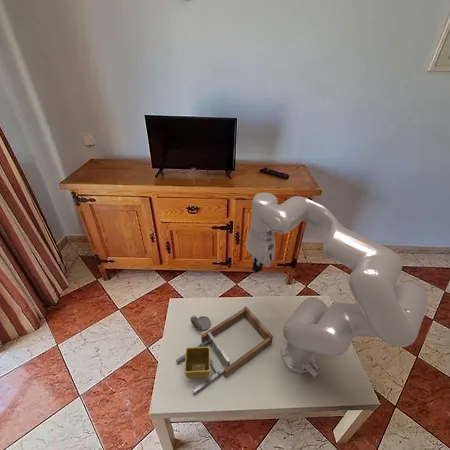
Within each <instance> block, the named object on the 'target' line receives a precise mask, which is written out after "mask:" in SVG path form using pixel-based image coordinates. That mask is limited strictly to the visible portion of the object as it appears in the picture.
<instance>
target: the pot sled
mask: <svg viewBox="0 0 450 450" xmlns="http://www.w3.org/2000/svg"><path fill="white" fill-rule="evenodd" d="M207 338H208V340H206V341H205V342H203V343H202V342H201V343H200V344H198V345H197V346H196V347H208V346H209V347H210V349H211V350H212V351H213V352H214V353H215V354H214V355H215V356H216V357H217V358H218V360H219V361H220V363H221V365H222V366H223V368H221V369H218V368H217V366H216V364H215V363H214V361H213V360H212V358H211V357H210V368H212V371H213V372H214V373H215V374H213V375H212V376H210V377H208V378H207V380H205V381H203V382H202V383H201V384H200V385H197V386H196V387H195V388H194V389H192V394H193V396H195V395H197V394H198V393H200V392H201V391H202V390H204V389H205V388H207V387H208V386H209V385H210V384H212V383H214V382H215V381H216V380H217V379H219V378H220V377H221V376H224V369H225V368H226V367H228V366H229V365H231V360H230V359H229V357H228V356H227V354H226V353H225V351H224V350H223V348H222V347H221V345H220V343H218V341H217V340H216V338H215V337H213V336H212V334H211V333H210V332H208V333H207ZM185 355H186V353H184V354H183V355H182V356H180V357H178V358H177V359H176V360H175V361H176V365H180V364H181V363H183V362H185Z"/></svg>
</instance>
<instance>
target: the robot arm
mask: <svg viewBox="0 0 450 450" xmlns="http://www.w3.org/2000/svg"><path fill="white" fill-rule="evenodd" d="M251 202H252V204H251V215H250V226H249V230H248V233H247V237H246V244H245V245H246V246H245V247H246V250H247V253H249V254H250V255H251V261H252V271H253V272H254V273H255V274H257V273H258V272H259V273H260V272H261V271H262V270H263V267H266V268H269V267H271V265H272V264H271V261H274V260H275V257H276V237H275V236H276V235H274V232H276V234H279V235H287V234H289V232H291V231H292V230H293V229H295V228H296V227H297V226H298V225H299V224H300V223H301V222H306V223H308V224H309V225H312V226H313V227H315V228H316V229H317V230H318V231H319V232H320V234H321V235H322V239H323V246H322V247H323V249H322V251H323V254H324V255H325V256H326V257H328V258H330V259H331V260H334V261H336V262H338V263H340V264H341V265H343V266H345V267H347V268H348V269H350V270H352V272H351V273H350V275H349V278H348V286H349V289H350V291H351V293H352V296H353V297H354V300H355V301H356V303H347V302H344V303H342V302H336V303H333V304H332V303H331V304H330V306H329V307H328V305H327V304H326V302H324V301H323V300H322V299H320V298H318V297H308V298H305V299H304V300H303V301H301V303H300V304H299V306H297V307H296V309H295V310H294V311H293V313H292V314H291V315H290V316H289V318H288V319H287V320H286V322H285V323H284V325H283V330H282V333H283V337H284V339H285V340H286V342H284V344H283V345H282V347H281V352H280V355H281V359H282V362H283V363H284V365H285V366H286V367H287V368H288V370H290V371H292V372H294V373H297V374H305V373H306V374H307V373H308V372H309V374H311V376H312V377H313V378H316V377H317V376H318V375H319V373H318V372H317V371H318V370H319V369H320V367H319V366H318V365H317V364H316V363H315V361H316V359H315V357H316V356H315V354H319V355H324V356H328V357H339V356H342V355H344V354H345V353H346V352H347V351H348V349H349V348H350V346H351V345H352V343H353V340H354V339H355V338H357V337H365V338H366V337H367V338H377V339H380V340H381V341H383V342H384V343H386V344H388V345H390V346H392V347H396V348H406V347H409V346H411V345H412V344H413V343H414V342H415V341H416V340H417V338H418V335H419V333H420V330H421V326H422V322H423V320H424V318H425V314H426V311H427V308H428V305H429V298H428V295H427V294H428V293H426V291H425V290H424V288H423V287H421V286H420V285H418V284H416V283H412V282H404V283H403V282H402V283H398V280H399V279H400V275H401V273H402V269H403V262H402V258H401V257H400V255H399V254H398V253H397V252H395V251H394V250H392V249H390V248H388V247H386V246H384V245H382V244H379V243H378V242H376V241H373V240H372V239H369V238H367V237H365V236H363V235H362V234H359V233H357V232H355V231H353V230H351V229H349V228H346V227H345V226H343V225H342V224H341V223H340V222H339V221H338V219H337V217H335V216H334V214H333V213H332V212H331V211H330V210H329V209H328V208H327V207H325V206H324V205H322V204H320V203H319V202H316V201H314V200H311V199H309V198H307V197H304V196H299V195H296V196H295V195H294V196H291V197H290V198H288V199H286V200H285V201H284V202H283V203H280V204H279V203H278V202H279V200H278V198H277V196H275V195H274V194H273V193H270V192H259V193H256V194H255V195H254V196H253V197H252V201H251ZM397 283H398V284H397Z"/></svg>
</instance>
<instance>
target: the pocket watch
mask: <svg viewBox="0 0 450 450" xmlns="http://www.w3.org/2000/svg"><path fill="white" fill-rule="evenodd" d="M189 320H190V322H191V325H192V326H193V328H194V329H196V331H198V332H203V331H206V330H207V331H208V329H210V328H211V324H212V323H211V318H209V317H208V316H204V315H203V316H199V317H197V316H196V314H193V315H192V316H191V317H190V319H189Z"/></svg>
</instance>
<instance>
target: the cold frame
mask: <svg viewBox="0 0 450 450" xmlns="http://www.w3.org/2000/svg"><path fill="white" fill-rule="evenodd" d="M243 319H246V321H247V322H248V323H249V324H250V326H251V327H252V328H254V330H255V331H256V332H257V334H258V335H259V336H260V337H261V338H262V339H263V340H262V341H260V343H258V344H256V345H255V346H254V347H252V348H251V349H250V350H248V351H247V352H246V353H244V354H242V356H240V357H239V358H237V359H236V360H235V361H233V362H232V363H230V365H229V366H228V367H226V368H225V369H224V374H223V377H224V378H225V379H227V378H228V377H230V376H232V375H233V374H234V373H235V372H237V371H238V370H239V369H241V368H242V367H243V366H245V365H247V363H249V362H250V361H251V360H252V359H254V358H255V357H257V356H258V355H259V354H260V353H262V352H263V351H264V350H266V349H267V348H269V347H270V346H271V345H272V343H273V339H274V335H273V334H272V333H271V332H270V331H269V330H268V329H267V328H266V326H265V325H264V324H263V323H262V322H261V321H260V320H259V319H258V318H257V316H255V314H254V313H253V312H252V311H251V310H250V309H249V308H248V306H246V305H245V306H244V307H243V308H242V309H241V310H239V311H238V312H236V313H235V314H233V315H231V316H229V317H227V318H226V319H225V320H223V321H221V322H220V323H218V324H217V325H215V326H213V327H212V328H209V330H207V331H205V332H203V333H202V334H201V335H200V341H201V344H202V343H203V342H205V341H206V340H208V338H207V333H208V332H210V333H211V334H212V336H213V337H214V338H216V337H217V336H219V335H220V334H221V333H223V332H224V331H226V330H227V329H229V328H230V327H233V326H234V325H235V324H237V323H239V322H240V321H242V320H243Z"/></svg>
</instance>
